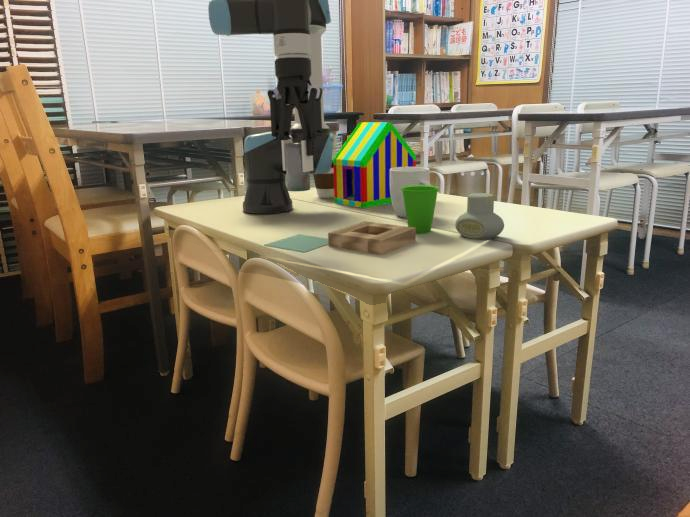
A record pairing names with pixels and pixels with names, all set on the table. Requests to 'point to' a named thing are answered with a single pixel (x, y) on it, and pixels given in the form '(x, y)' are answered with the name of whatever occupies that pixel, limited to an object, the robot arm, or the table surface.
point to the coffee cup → (325, 183)
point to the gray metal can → (296, 168)
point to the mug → (405, 184)
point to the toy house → (369, 164)
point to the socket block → (372, 237)
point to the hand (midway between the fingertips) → (298, 170)
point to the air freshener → (480, 218)
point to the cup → (420, 206)
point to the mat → (299, 243)
